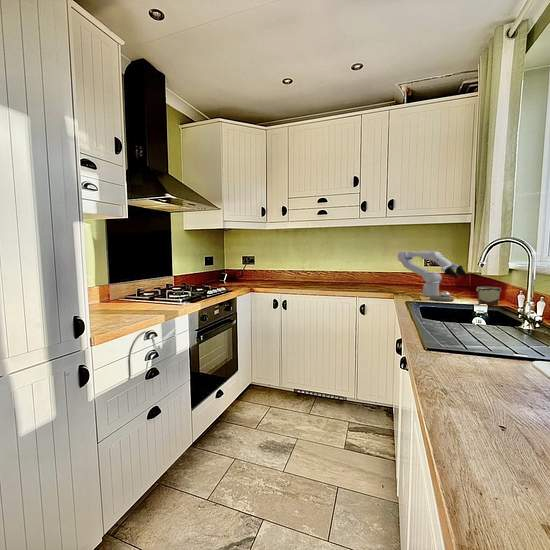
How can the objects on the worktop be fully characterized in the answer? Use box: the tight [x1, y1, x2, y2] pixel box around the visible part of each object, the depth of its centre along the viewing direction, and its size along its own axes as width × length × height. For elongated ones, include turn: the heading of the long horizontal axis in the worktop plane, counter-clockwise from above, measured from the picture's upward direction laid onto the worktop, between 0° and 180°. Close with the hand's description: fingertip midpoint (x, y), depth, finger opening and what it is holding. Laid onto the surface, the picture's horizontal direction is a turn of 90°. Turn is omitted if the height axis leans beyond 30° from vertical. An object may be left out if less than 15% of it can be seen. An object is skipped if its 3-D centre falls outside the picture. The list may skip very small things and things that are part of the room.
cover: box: [440, 290, 451, 297], centre depth 189 cm, size 5×5×3 cm
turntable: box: [429, 294, 455, 302], centre depth 188 cm, size 13×13×2 cm
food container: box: [475, 286, 502, 306], centre depth 169 cm, size 12×6×10 cm, turn 84°
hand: (461, 276), depth 185 cm, fingers open, 7 cm apart
